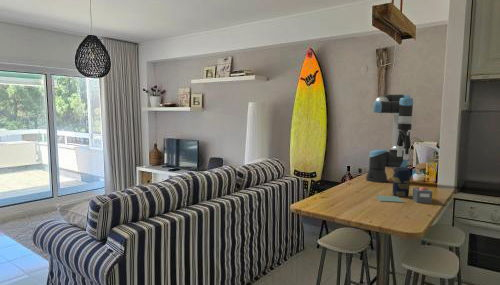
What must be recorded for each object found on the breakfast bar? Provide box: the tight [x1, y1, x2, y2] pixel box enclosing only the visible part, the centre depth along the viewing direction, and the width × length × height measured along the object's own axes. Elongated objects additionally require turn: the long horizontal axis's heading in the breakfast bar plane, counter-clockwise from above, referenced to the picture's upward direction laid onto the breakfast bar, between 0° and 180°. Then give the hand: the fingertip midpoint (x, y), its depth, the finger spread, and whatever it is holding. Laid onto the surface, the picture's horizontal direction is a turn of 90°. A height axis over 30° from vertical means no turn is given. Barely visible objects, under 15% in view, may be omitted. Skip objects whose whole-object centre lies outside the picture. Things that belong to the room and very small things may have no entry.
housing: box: [411, 187, 433, 204], centre depth 198 cm, size 8×8×7 cm
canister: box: [391, 167, 411, 198], centre depth 210 cm, size 10×10×18 cm
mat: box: [375, 194, 405, 203], centre depth 201 cm, size 12×13×1 cm
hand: (402, 158), depth 209 cm, fingers open, 13 cm apart
